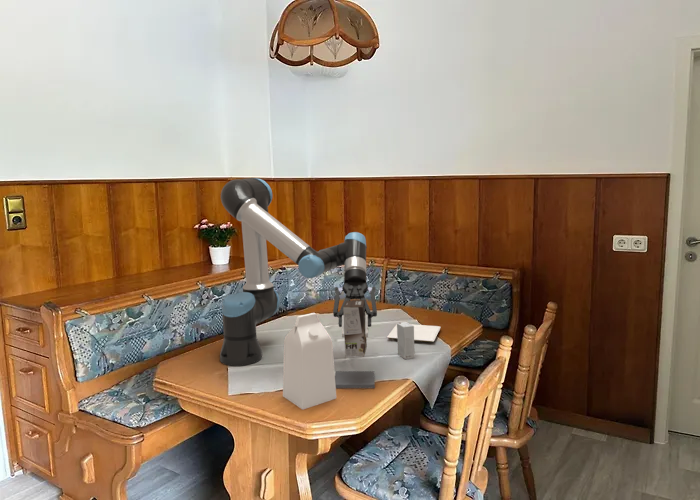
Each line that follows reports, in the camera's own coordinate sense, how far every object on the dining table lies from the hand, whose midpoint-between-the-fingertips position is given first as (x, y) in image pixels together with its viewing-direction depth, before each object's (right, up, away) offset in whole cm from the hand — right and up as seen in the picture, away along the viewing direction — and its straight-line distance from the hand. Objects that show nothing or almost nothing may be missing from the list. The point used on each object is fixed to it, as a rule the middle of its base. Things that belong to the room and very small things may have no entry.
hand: (354, 335), depth 171 cm
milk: (-14, -18, -4) cm, 23 cm away
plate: (+25, -9, +51) cm, 57 cm away
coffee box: (+1, -6, +5) cm, 8 cm away
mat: (0, -16, +7) cm, 17 cm away
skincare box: (+19, -12, +28) cm, 36 cm away
